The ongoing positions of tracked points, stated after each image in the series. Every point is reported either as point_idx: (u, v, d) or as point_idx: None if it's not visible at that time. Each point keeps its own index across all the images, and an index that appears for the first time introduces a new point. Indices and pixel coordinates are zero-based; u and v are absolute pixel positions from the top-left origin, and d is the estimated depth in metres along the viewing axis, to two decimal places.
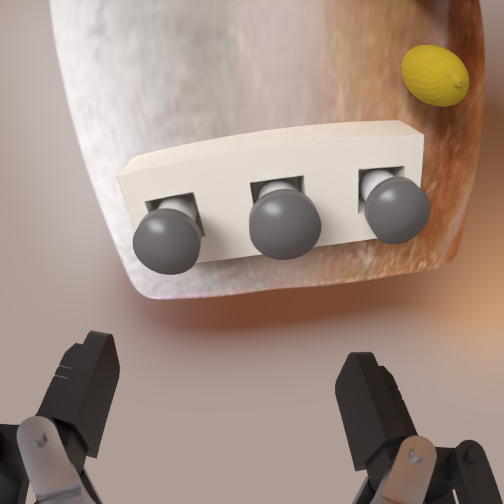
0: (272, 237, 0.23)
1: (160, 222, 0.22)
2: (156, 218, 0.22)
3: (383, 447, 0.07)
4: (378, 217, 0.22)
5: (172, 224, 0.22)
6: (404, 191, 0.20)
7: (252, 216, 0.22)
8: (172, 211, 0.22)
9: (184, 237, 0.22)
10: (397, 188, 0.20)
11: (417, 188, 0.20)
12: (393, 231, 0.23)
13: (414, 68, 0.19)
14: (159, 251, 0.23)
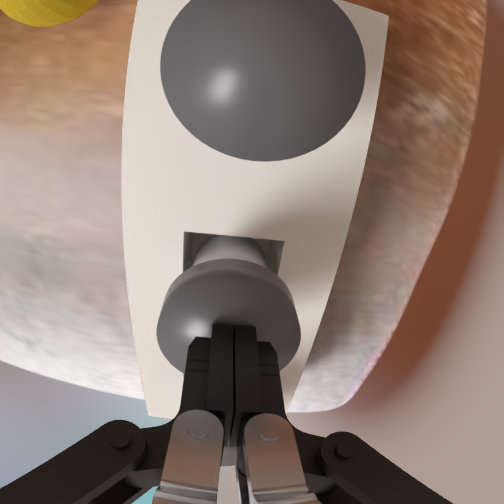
0: None
1: None
2: None
3: (242, 422, 0.07)
4: (249, 137, 0.07)
5: None
6: (182, 53, 0.06)
7: None
8: None
9: None
10: (166, 76, 0.07)
11: (182, 13, 0.06)
12: (316, 92, 0.07)
13: (25, 20, 0.08)
14: None
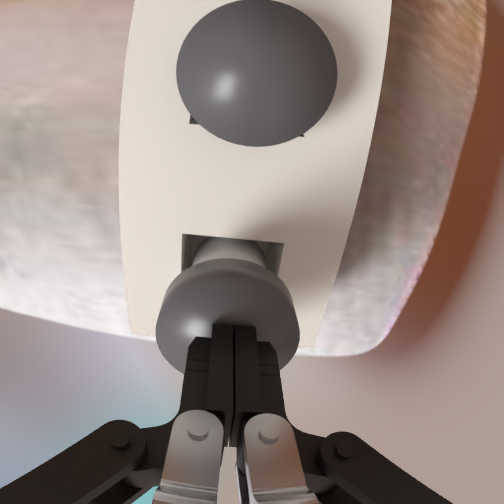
0: (266, 101, 0.09)
1: (165, 329, 0.10)
2: (156, 331, 0.11)
3: (242, 422, 0.07)
4: None
5: (173, 313, 0.10)
6: None
7: None
8: (165, 294, 0.11)
9: (211, 303, 0.10)
10: None
11: None
12: None
13: None
14: None
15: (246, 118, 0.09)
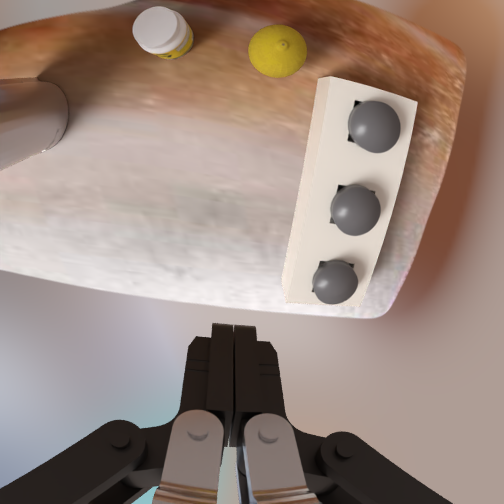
0: (359, 222, 0.31)
1: (319, 282, 0.34)
2: (315, 283, 0.35)
3: (242, 422, 0.07)
4: (372, 146, 0.27)
5: (323, 276, 0.34)
6: (358, 122, 0.26)
7: (340, 229, 0.32)
8: (317, 271, 0.35)
9: (335, 273, 0.34)
10: (354, 127, 0.26)
11: (359, 110, 0.26)
12: (388, 136, 0.27)
13: (269, 73, 0.25)
14: (337, 290, 0.35)
15: (352, 227, 0.31)
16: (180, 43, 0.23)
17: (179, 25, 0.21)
